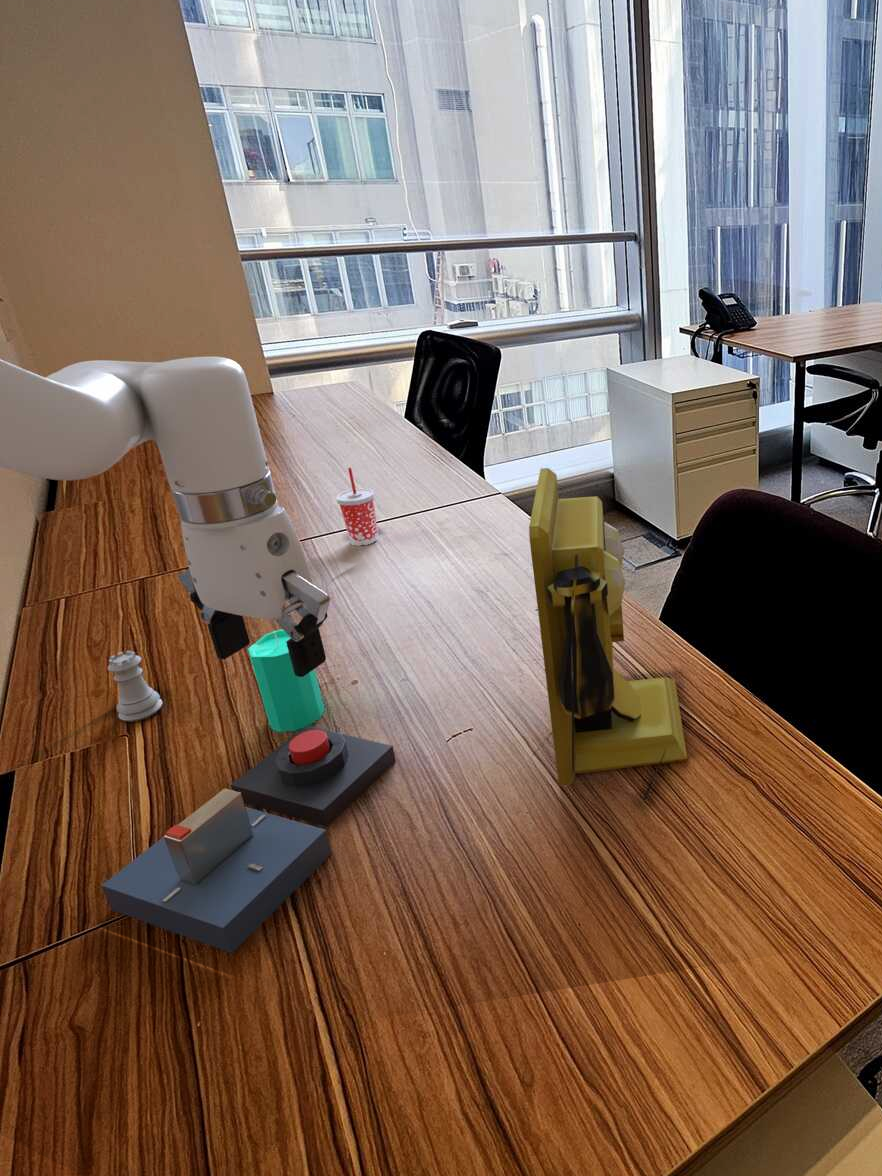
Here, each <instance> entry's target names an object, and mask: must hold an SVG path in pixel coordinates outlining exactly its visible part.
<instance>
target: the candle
mask: <svg viewBox="0 0 882 1176" xmlns="http://www.w3.org/2000/svg"><path fill="white" fill-rule="evenodd" d="M289 639H291V638H290V637H289V635H288V634H287V633H286V632H285V631H284V630H283V629H277V630H273V631H272V632H269V633H266V634H264V635H262V636H261V637H260V638H259V639H258V640H257V641H256V642H254V643H253V644H252V645H251V646H250V647H248V648H247V651H248V654H249V658H250V661H251V665H252V668H253V672H254V675H255V679H256V683H257V686H258V690H259V693H260V697H261V699H262V704H263V708H264V710H265V713H266V714H265V715H266V717H267V721H268V724H269V726H271V727H270V729H271V730H272V729H273V730H272V731H275V730H276V732H279V733H288V732H287V731H290V732H297V731H299V730H301V728H304V727H305V726H306V725H308V726H309V725H310V726H312V725H313V724H314V723H316V722H317V721H318V720H319V719H321V718H322V716H323V714H324V712H325V706H324V705H325V704H324V700H323V697H322V694H321V689H320V685H319V681H318V678H317V673H316V668H315V669H314V670H312V671H311V672H309V673H308V674H306V675H305V676H304V677H298V676H296V675H295V673H294V670H293V666H292V662H291V659H290V655H289V651H288V647H287V643H286V641H288V640H289ZM320 717H321V718H320ZM316 720H317V721H316ZM312 723H313V724H312ZM298 729H299V730H298ZM296 730H297V731H296Z"/></svg>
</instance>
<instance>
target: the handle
mask: <svg viewBox="0 0 882 1176" xmlns="http://www.w3.org/2000/svg"><path fill="white" fill-rule="evenodd" d="M245 807H246V805H245V803H244V801H243V798H242V795H241V793H239V792H236V791H232V789H230V788H229V789H228V788H223V789H222V790H220V791H219V792H218V793H217V794H215V795H214V796H213V797H211V798H210V799H209V800H208V801H206V802H205V803H204V804H203V805H201V806H200V807H199V808H197V809H196V810H195V811H194V812H192V813H191V814H189V815H188V816H187V817H186V818H184V819H183V820H182V821H181V822H179V823H178V824H177V823H175V825H173V826H172V827H171V828H168V830H167V831H165V834H164V835H163V836H162V838H163V837H164V840H165V842H166V845H167V848H168V850H169V853H170V856H171V858H172V861H173V864H174V866H175V869H176V872H177V874H178V877H179V879H181V880H184V881H187V882H190V883H193V884H197V883H198V882H199V881H200V880H202V879H203V878H204V877H205V876H206V875H207V874H208V873H210V872H211V871H212V870H213V869H214V868H215V867H217V866H218V865H219V864H220V863H221V862H222V861H223V860H225V859H226V858H227V857H228V856H229V855H230V854H231V853H233V852H234V851H235V850H236V849H237V848H238V847H239V846H241V845H242V844H243V843H244V842H245V841H246V840H248V839H249V838H250V837H251V836H252V835H253V834H254V833H253V830H252V827H251V824H250V820H249V817H248V814H247V811H246V808H245Z"/></svg>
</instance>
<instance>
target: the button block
mask: <svg viewBox="0 0 882 1176" xmlns="http://www.w3.org/2000/svg"><path fill="white" fill-rule="evenodd" d="M311 730H321V731H324V732H325V733H326V734H327V738H328V742H329V746H330V750H329V753H328V754H327V755H326V756H325V757H323V758H322V759H320V760H318V761H315V762H313V763H311V764H304V765H297V764H295V763H294V762H293V761H292V758H291V754H290V750H289V744H290V742H291V741H292V739H294V738H295V737H296V736H298V735H299V734H301V733H304V732H307V731H311ZM395 756H396V755H395V751H394V746H393V745H390V744H387V743H382V742H378V741H373V740H369V739H365V738H361V737H357V736H353V735H349V734H345V733H340V732H337V731H332V730H328V729H324V728H320V727H315V726H312V725H310V726H308V725H306V726H305V727H304V728H302V729H299V730H298V731H296V733H295V734H293V735H292V736H291V737H289V738H288V739H287V740H286V741H284V742H283V743H282V744H280V745H279V746H278V747H277V748H275V749H274V750H273V751H272V752H270V753H269V754H268V755H266V756H265V757H264V758H262V759H261V760H260V761H259V762H258V763H256V764H255V765H253V766H252V767H250V769H248V770H247V771H246V772H245V773H243V774H242V775H241V776H240V777H238V778H236V780H235V781H233V782H231V783H230V787H231V790H232V791H236V792H239V793H241V795H242V798H243V801H244V805H245V804H246V805H249V806H253V807H255V808H260V809H264V810H266V811H270V812H273V813H277V814H281V815H285V816H287V817H291V818H293V819H294V818H295V819H298V820H300V821H301V820H302V821H305V822H309V823H312V824H316V825H318V826H323V827H327V828H328V827H329V826H330V825H331V824H332V823H333V822H335V820H336V819H338V817H340V815H342V814H343V813H344V812H345V811H346V810H347V809H348V808H349V807H350V806H351V805H352V804H353V803H354V802H355V801H356V800H357V799H358V798H360V796H361V795H363V794H364V793H365V792H366V791H367V790H368V789H369V788H370V787H371V786H372V785H373V784H374V783H375V782H377V780H378V779H380V778H381V776H382V775H384V774H385V773H386V772H387V771H388V770H389V769H390V768H391V767H392V766H393V765H394V764H395V763H397V760H396V757H395Z"/></svg>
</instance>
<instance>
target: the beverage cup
mask: <svg viewBox="0 0 882 1176" xmlns="http://www.w3.org/2000/svg"><path fill="white" fill-rule="evenodd" d="M347 469H348V474H349V480H350V484H351V489H349V490H346V491H345V490H344V491H343V492H340V493H338V494H337V496H336V497H335V499H336V502H337V504H338V505H339V507H340V508H339V509H340V511H341V514H342V517H343V523H344V525H345V528H346V532H347V535H348V538H349V539H348V540H349V543H350V544H351V546H354V545H356V546H355V547H362V546H361V545H365V546H369V545H372V544H374V543H373V542H375V541H376V542H377V541H378V540H379V531H378V524H377V515H376V509H375V502H374V501H375V499H374V498H375V491H374V490H373V489H370V488H356V485H355V481H354V476H353V470H352V467H348V468H347ZM376 542H375V543H376ZM371 543H372V544H371ZM368 544H369V545H368Z"/></svg>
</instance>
